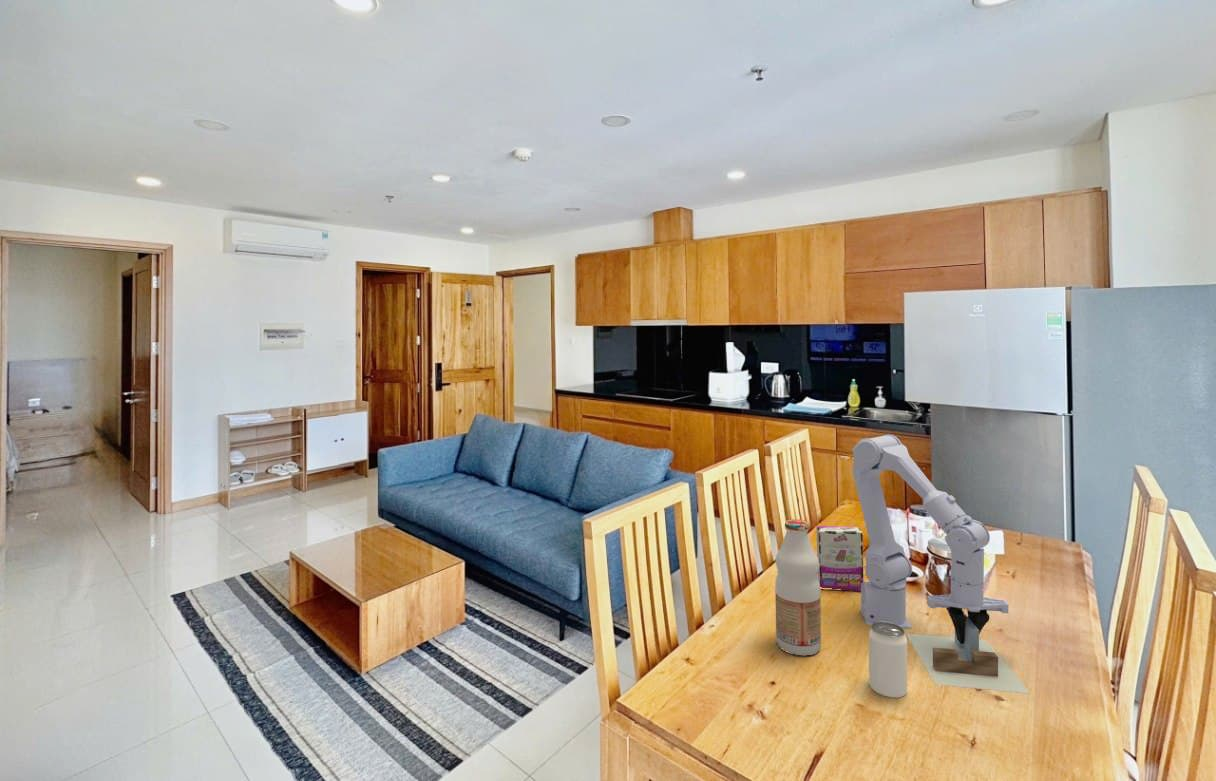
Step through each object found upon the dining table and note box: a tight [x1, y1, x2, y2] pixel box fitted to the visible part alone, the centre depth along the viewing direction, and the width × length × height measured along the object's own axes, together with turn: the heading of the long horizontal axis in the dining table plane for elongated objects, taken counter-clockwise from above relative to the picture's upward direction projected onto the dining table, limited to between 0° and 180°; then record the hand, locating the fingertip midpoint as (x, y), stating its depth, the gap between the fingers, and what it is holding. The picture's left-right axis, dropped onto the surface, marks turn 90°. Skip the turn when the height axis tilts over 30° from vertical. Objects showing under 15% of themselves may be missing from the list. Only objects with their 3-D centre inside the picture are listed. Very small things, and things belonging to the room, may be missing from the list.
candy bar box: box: [816, 525, 864, 592], centre depth 147 cm, size 11×5×16 cm, turn 77°
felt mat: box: [905, 633, 1032, 695], centre depth 112 cm, size 16×19×1 cm
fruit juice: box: [774, 518, 822, 657], centre depth 119 cm, size 9×9×28 cm
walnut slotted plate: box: [933, 648, 998, 677], centre depth 108 cm, size 11×2×4 cm, turn 76°
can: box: [868, 622, 908, 699], centre depth 104 cm, size 6×6×12 cm
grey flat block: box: [954, 612, 980, 661], centre depth 115 cm, size 2×8×7 cm, turn 166°
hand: (966, 641), depth 115 cm, fingers closed on grey flat block, 2 cm apart
